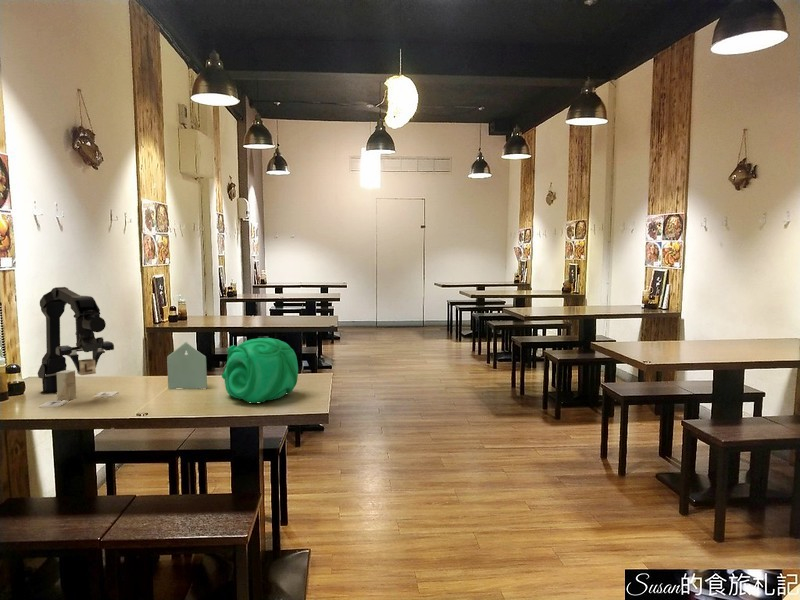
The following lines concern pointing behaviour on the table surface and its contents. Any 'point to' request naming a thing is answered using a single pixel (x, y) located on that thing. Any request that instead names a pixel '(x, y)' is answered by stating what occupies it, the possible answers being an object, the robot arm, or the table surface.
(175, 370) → the house-shaped tag
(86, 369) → the letter cube
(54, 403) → the pad
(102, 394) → the pad
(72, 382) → the box
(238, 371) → the sculpture
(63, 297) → the robot arm
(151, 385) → the table surface
